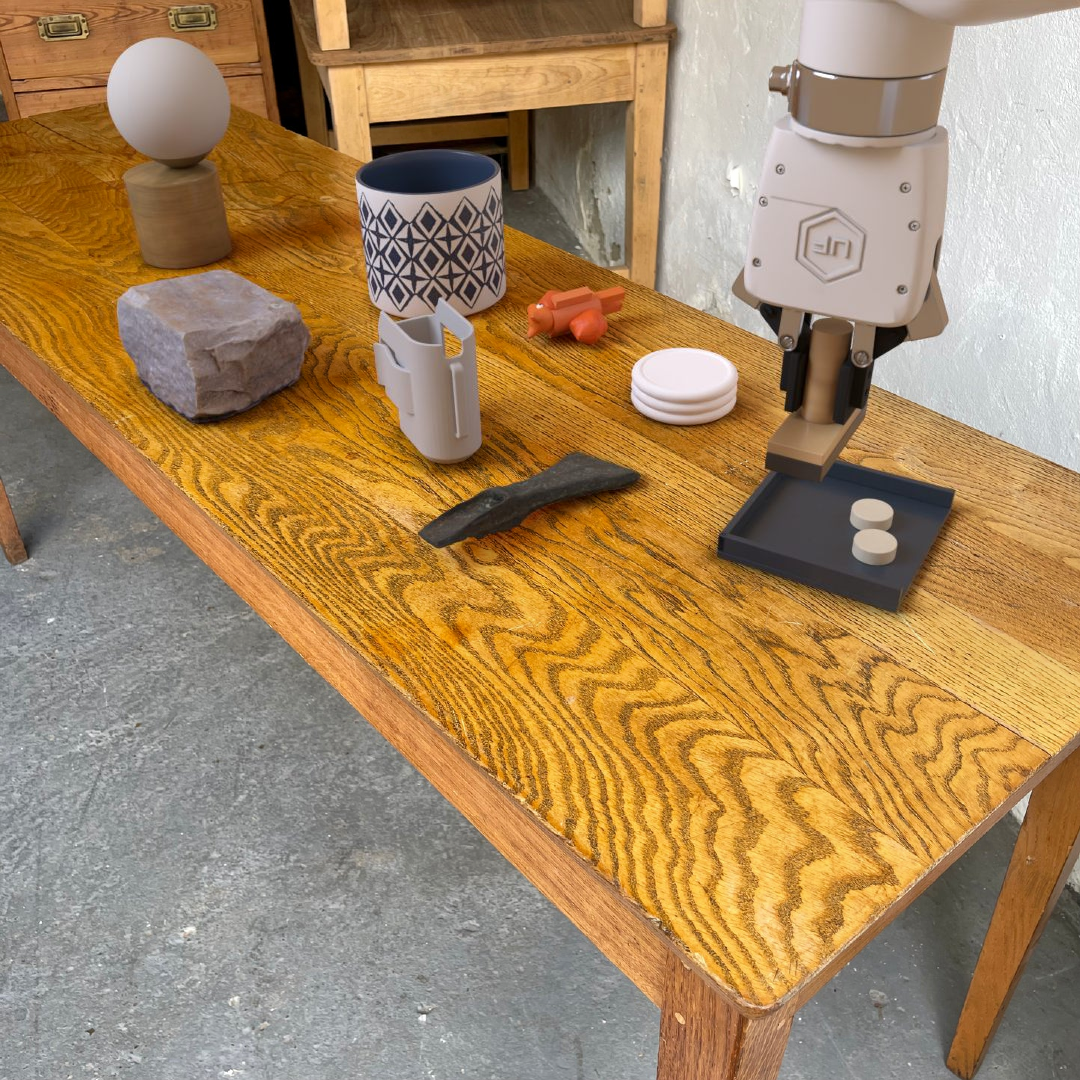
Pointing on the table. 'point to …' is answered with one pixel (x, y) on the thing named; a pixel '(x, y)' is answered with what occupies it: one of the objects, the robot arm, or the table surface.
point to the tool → (525, 499)
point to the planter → (432, 231)
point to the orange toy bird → (574, 313)
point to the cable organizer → (432, 382)
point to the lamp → (173, 150)
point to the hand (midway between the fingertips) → (821, 406)
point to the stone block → (211, 342)
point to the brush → (816, 409)
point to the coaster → (684, 386)
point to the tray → (836, 531)
